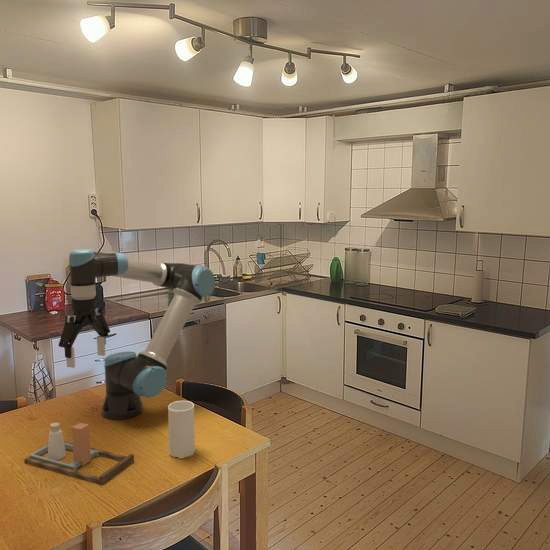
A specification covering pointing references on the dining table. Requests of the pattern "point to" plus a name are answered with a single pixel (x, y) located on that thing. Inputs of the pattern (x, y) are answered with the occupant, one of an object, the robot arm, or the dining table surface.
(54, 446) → the salt shaker
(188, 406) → the cup
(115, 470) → the track
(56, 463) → the frame
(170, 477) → the dining table surface
